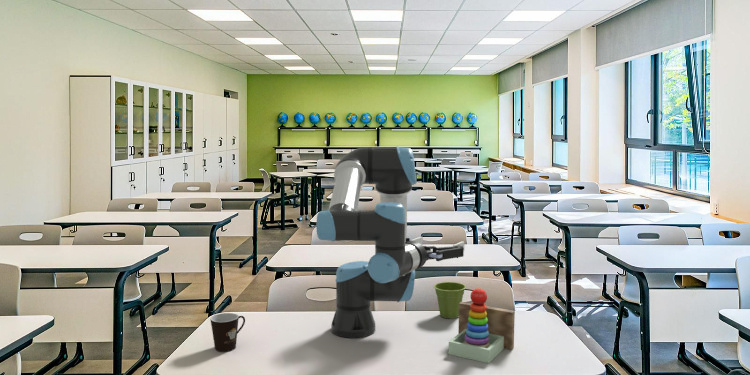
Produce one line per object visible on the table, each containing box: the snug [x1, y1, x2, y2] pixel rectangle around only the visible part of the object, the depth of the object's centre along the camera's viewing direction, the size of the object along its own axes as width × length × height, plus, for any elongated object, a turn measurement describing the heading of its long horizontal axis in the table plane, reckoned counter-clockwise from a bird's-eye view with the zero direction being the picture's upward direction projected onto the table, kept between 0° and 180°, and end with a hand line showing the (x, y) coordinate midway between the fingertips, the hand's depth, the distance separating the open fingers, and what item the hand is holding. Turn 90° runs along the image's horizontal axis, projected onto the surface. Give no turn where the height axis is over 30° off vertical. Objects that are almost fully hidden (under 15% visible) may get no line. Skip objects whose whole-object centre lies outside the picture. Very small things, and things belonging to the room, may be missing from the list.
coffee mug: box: [210, 312, 246, 353], centre depth 180 cm, size 12×9×10 cm
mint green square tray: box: [448, 329, 505, 364], centre depth 177 cm, size 13×13×4 cm
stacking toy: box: [464, 287, 490, 348], centre depth 176 cm, size 8×8×19 cm
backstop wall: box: [457, 301, 516, 350], centre depth 183 cm, size 18×2×12 cm, turn 59°
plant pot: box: [433, 281, 467, 319], centre depth 210 cm, size 12×12×11 cm
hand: (441, 243), depth 170 cm, fingers open, 13 cm apart
